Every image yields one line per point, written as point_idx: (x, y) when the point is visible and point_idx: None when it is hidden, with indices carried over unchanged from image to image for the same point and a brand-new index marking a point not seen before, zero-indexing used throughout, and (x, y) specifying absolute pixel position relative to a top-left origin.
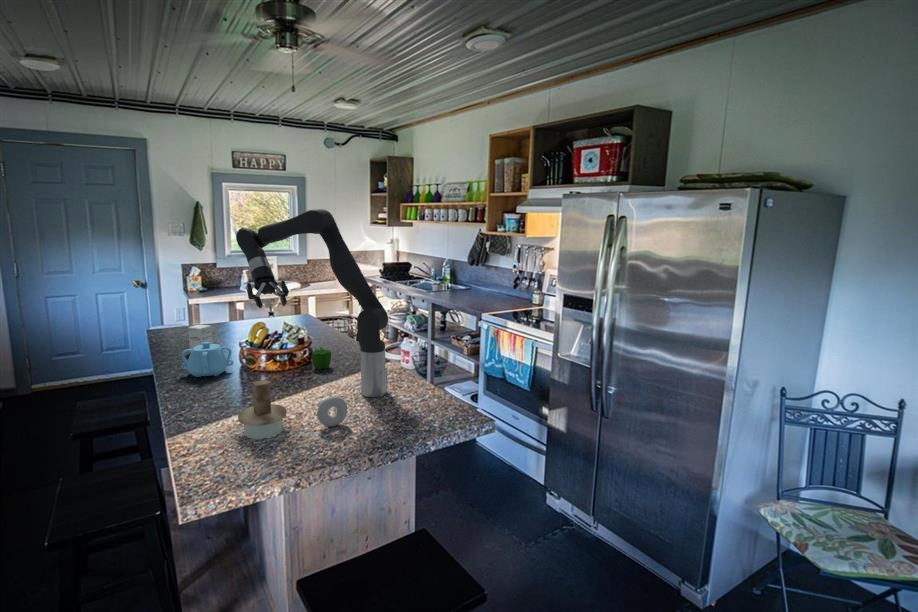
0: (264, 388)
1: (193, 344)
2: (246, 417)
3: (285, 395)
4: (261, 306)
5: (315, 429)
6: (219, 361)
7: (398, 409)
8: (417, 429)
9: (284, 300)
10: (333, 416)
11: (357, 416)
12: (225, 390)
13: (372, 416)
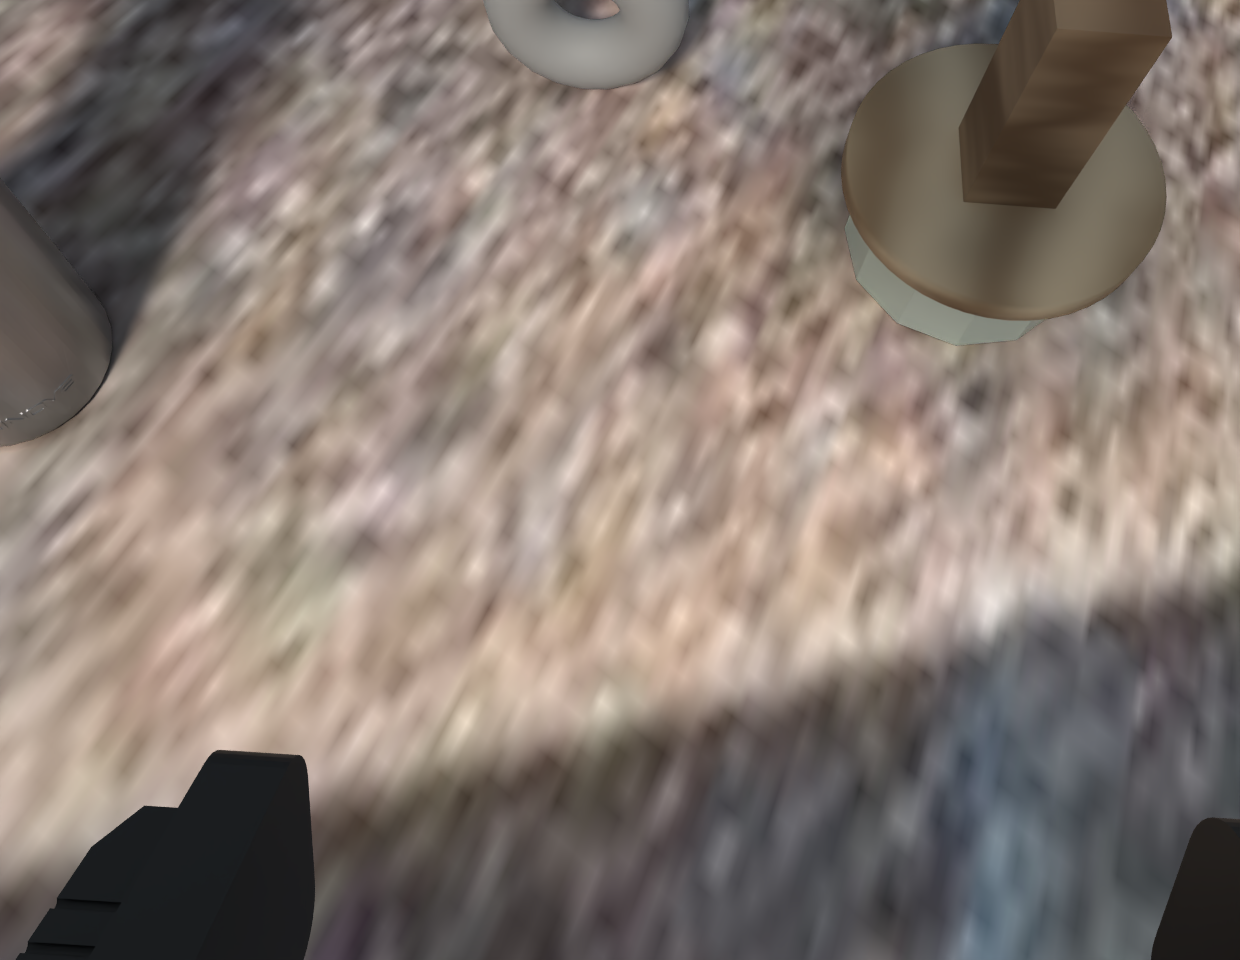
0: None
1: None
2: (1119, 157)
3: (585, 784)
4: (1205, 865)
5: (691, 98)
6: None
7: (123, 36)
8: None
9: (201, 826)
10: (583, 25)
11: (390, 99)
12: None
13: (320, 49)
